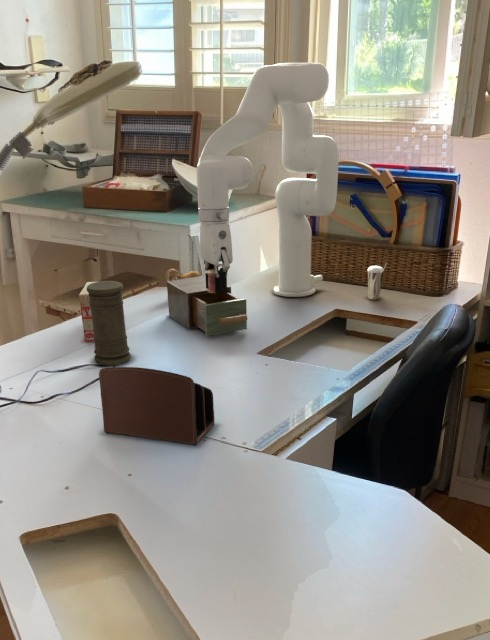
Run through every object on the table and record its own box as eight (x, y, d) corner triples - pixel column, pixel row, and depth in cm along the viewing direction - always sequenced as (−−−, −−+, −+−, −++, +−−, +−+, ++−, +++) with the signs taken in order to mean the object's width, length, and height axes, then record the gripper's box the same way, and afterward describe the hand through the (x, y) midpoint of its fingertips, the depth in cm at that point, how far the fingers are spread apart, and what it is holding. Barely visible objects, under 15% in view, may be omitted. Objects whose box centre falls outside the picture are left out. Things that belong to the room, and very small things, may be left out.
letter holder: (196, 446, 154) (192, 375, 147) (103, 433, 161) (95, 364, 153) (215, 425, 162) (212, 357, 155) (126, 414, 168) (119, 348, 161)
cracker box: (97, 317, 229) (92, 273, 222) (119, 317, 229) (114, 272, 222) (84, 342, 211) (78, 294, 204) (108, 341, 210) (103, 293, 204)
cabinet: (232, 322, 221) (231, 286, 216) (189, 329, 217) (187, 293, 212) (209, 309, 232) (208, 275, 227) (169, 316, 228) (166, 281, 223)
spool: (220, 287, 213) (220, 268, 210) (228, 291, 209) (228, 271, 206) (204, 290, 211) (203, 270, 208) (211, 294, 207) (211, 274, 205)
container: (115, 368, 193) (107, 291, 183) (86, 362, 197) (77, 287, 187) (138, 357, 199) (132, 282, 190) (110, 351, 203) (102, 278, 194)
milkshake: (385, 300, 234) (388, 264, 229) (367, 300, 235) (369, 265, 229) (383, 295, 238) (385, 260, 233) (364, 296, 238) (366, 261, 233)
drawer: (255, 334, 209) (255, 303, 205) (215, 341, 205) (213, 310, 201) (224, 316, 223) (223, 287, 219) (186, 322, 219) (184, 293, 215)
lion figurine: (175, 302, 239) (173, 271, 235) (162, 299, 243) (160, 268, 238) (210, 292, 248) (209, 261, 244) (198, 289, 252) (196, 259, 247)
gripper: (242, 218, 195) (244, 295, 204) (213, 208, 208) (215, 281, 218) (214, 222, 192) (217, 299, 202) (186, 211, 206) (190, 285, 215)
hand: (216, 289), depth 210 cm, fingers closed on spool, 4 cm apart
